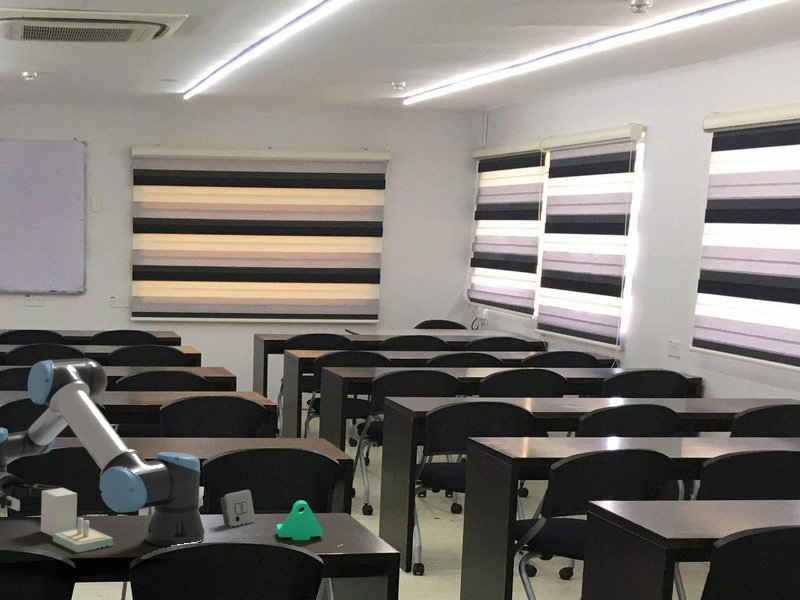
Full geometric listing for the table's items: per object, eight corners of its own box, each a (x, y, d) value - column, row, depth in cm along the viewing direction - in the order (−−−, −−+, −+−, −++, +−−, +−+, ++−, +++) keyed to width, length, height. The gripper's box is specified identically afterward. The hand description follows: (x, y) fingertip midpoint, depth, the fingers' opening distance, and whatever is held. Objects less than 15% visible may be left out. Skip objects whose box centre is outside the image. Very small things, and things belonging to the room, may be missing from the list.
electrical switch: (231, 528, 281) (230, 495, 281) (218, 526, 284) (217, 493, 285) (255, 522, 288) (254, 490, 289) (243, 520, 292) (242, 488, 292)
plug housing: (40, 531, 271) (41, 490, 270) (61, 527, 275) (62, 487, 274) (55, 537, 265) (56, 496, 265) (76, 533, 269) (77, 493, 269)
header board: (52, 541, 262) (53, 517, 262) (87, 534, 269) (88, 511, 269) (77, 552, 253) (78, 528, 253) (112, 545, 260) (113, 522, 260)
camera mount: (318, 532, 282) (319, 496, 281) (322, 539, 274) (324, 502, 274) (275, 533, 279) (277, 496, 278) (279, 541, 271) (280, 503, 271)
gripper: (47, 494, 300) (83, 508, 285) (-36, 506, 282) (-3, 522, 267) (48, 469, 300) (84, 482, 285) (-36, 480, 282) (-2, 495, 267)
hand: (42, 502), depth 276 cm, fingers open, 13 cm apart
